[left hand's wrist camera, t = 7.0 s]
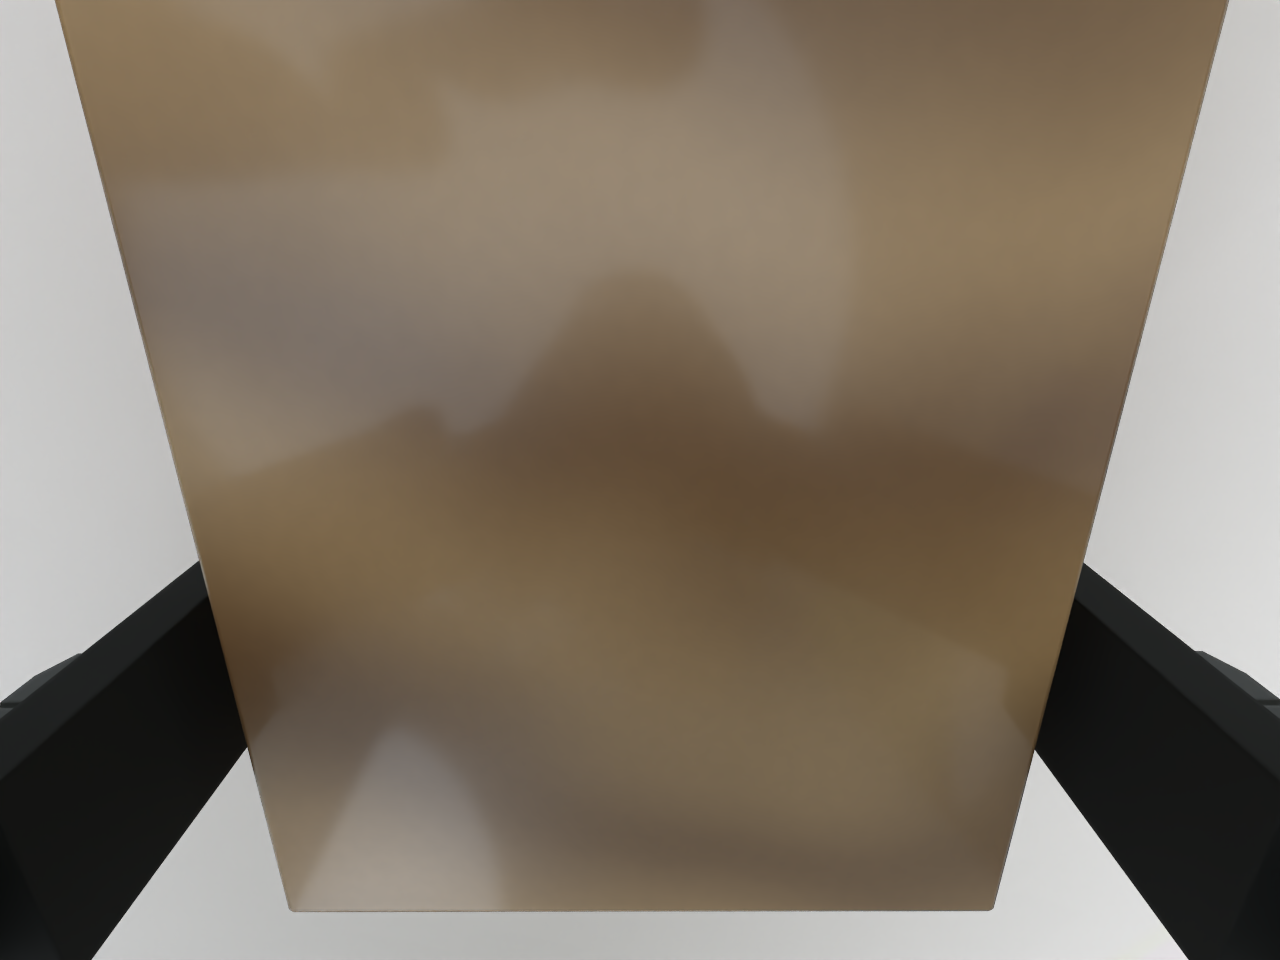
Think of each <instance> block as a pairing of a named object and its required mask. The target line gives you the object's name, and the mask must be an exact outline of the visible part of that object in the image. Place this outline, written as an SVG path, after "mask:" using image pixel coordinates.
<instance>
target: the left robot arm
mask: <svg viewBox="0 0 1280 960" xmlns="http://www.w3.org/2000/svg"><path fill="white" fill-rule="evenodd" d="M246 748H247V744H246V740H245V736H244V732H243V728H242V724H241V720H240V716H239V713H238V709H237V705H236V701H235V697H234V693H233V689H232V685H231V682H230V678H229V674H228V670H227V666H226V662H225V658H224V654H223V650H222V647H221V643H220V639H219V635H218V631H217V627H216V623H215V619H214V616H213V612H212V608H211V604H210V600H209V596H208V592H207V588H206V585H205V581H204V577H203V573H202V569H201V565H200V561H198V562H197V563H195V564H194V565H193V566H192V567H190V568H189V569H188V570H187V571H185V572H184V573H183V574H182V575H180V576H179V577H178V578H177V579H175V580H174V581H173V582H172V583H170V584H169V585H168V586H166V587H165V588H164V589H163V590H161V591H160V592H159V593H158V594H156V595H155V596H154V597H153V598H151V599H150V600H149V601H148V602H146V603H145V604H144V605H143V606H141V607H140V608H139V609H138V610H136V611H135V612H134V613H132V614H131V615H130V616H129V617H127V618H126V619H125V620H124V621H122V622H121V623H120V624H119V625H117V626H116V627H115V628H114V629H112V630H111V631H110V632H109V633H107V634H106V635H105V636H104V637H102V638H101V639H100V640H99V641H97V642H96V643H95V644H93V645H92V646H91V647H90V648H88V649H87V650H86V651H85V652H83V653H82V654H77V655H75V656H73V657H71V658H69V659H67V660H65V661H63V662H61V663H59V664H57V665H55V666H53V667H51V668H49V669H48V670H46V671H44V672H42V673H40V674H38V675H36V676H34V677H33V678H32V679H30V680H29V681H28V682H26V683H25V684H24V685H22V686H21V687H20V688H19V689H17V690H16V691H15V692H13V693H12V694H11V695H9V696H8V697H7V698H6V699H4V700H3V701H2V702H0V960H92V958H93V957H94V955H95V954H96V953H97V951H98V950H99V949H100V947H101V946H102V945H103V943H104V942H105V940H106V939H107V938H108V936H109V935H110V934H111V932H112V931H113V930H114V928H115V927H116V925H117V924H118V923H119V921H120V920H121V919H122V917H123V916H124V914H125V913H126V912H127V910H128V909H129V908H130V906H131V905H132V904H133V902H134V901H135V899H136V898H137V897H138V895H139V894H140V893H141V891H142V890H143V889H144V887H145V886H146V884H147V883H148V882H149V880H150V879H151V878H152V876H153V875H154V873H155V872H156V871H157V869H158V868H159V867H160V865H161V864H162V863H163V861H164V860H165V858H166V857H167V856H168V854H169V853H170V852H171V850H172V849H173V848H174V846H175V845H176V843H177V842H178V841H179V839H180V838H181V837H182V835H183V834H184V833H185V831H186V830H187V828H188V827H189V826H190V824H191V823H192V822H193V820H194V819H195V817H196V816H197V815H198V813H199V812H200V811H201V809H202V808H203V807H204V805H205V804H206V802H207V801H208V800H209V798H210V797H211V796H212V794H213V793H214V792H215V790H216V789H217V787H218V786H219V785H220V783H221V782H222V781H223V779H224V778H225V777H226V775H227V774H228V772H229V771H230V770H231V768H232V767H233V766H234V764H235V763H236V761H237V760H238V759H239V757H240V756H241V755H242V753H243V752H244V751H245V749H246ZM1035 751H1036V752H1037V753H1038V755H1039V756H1040V757H1041V759H1042V760H1043V762H1044V763H1045V764H1046V766H1047V767H1048V768H1049V770H1050V771H1051V772H1052V774H1053V775H1054V777H1055V778H1056V779H1057V781H1058V782H1059V783H1060V785H1061V786H1062V787H1063V789H1064V790H1065V792H1066V793H1067V794H1068V796H1069V797H1070V798H1071V800H1072V801H1073V802H1074V804H1075V805H1076V807H1077V808H1078V809H1079V811H1080V812H1081V813H1082V815H1083V816H1084V818H1085V819H1086V820H1087V822H1088V823H1089V824H1090V826H1091V827H1092V828H1093V830H1094V831H1095V833H1096V834H1097V835H1098V837H1099V838H1100V839H1101V841H1102V842H1103V843H1104V845H1105V846H1106V848H1107V849H1108V850H1109V852H1110V853H1111V854H1112V856H1113V857H1114V859H1115V860H1116V861H1117V863H1118V864H1119V865H1120V867H1121V868H1122V869H1123V871H1124V872H1125V874H1126V875H1127V876H1128V878H1129V879H1130V880H1131V882H1132V883H1133V884H1134V886H1135V887H1136V889H1137V890H1138V891H1139V893H1140V894H1141V895H1142V897H1143V898H1144V899H1145V901H1146V902H1147V904H1148V905H1149V906H1150V908H1151V909H1152V910H1153V912H1154V913H1155V915H1156V916H1157V917H1158V919H1159V920H1160V921H1161V923H1162V924H1163V925H1164V927H1165V928H1166V930H1167V931H1168V932H1169V934H1170V935H1171V936H1172V938H1173V939H1174V940H1175V942H1176V943H1177V945H1178V946H1179V947H1180V949H1181V950H1182V951H1183V953H1184V954H1185V955H1186V957H1187V958H1188V960H1280V699H1279V698H1278V697H1276V696H1275V695H1274V694H1272V693H1271V692H1270V691H1268V690H1267V689H1266V688H1264V687H1263V686H1262V685H1261V684H1259V683H1258V682H1257V681H1255V680H1254V679H1253V678H1251V677H1250V676H1249V675H1247V674H1246V673H1244V672H1242V671H1240V670H1238V669H1236V668H1234V667H1232V666H1230V665H1228V664H1227V663H1225V662H1223V661H1221V660H1219V659H1217V658H1215V657H1213V656H1211V655H1209V654H1207V653H1205V652H1203V651H1194V650H1193V649H1192V648H1190V647H1189V646H1188V645H1187V644H1185V643H1184V642H1183V641H1181V640H1180V639H1179V638H1178V637H1176V636H1175V635H1174V634H1173V633H1171V632H1170V631H1169V630H1168V629H1166V628H1165V627H1164V626H1163V625H1161V624H1160V623H1159V622H1158V621H1156V620H1155V619H1154V618H1153V617H1151V616H1150V615H1149V614H1147V613H1146V612H1145V611H1144V610H1142V609H1141V608H1140V607H1139V606H1137V605H1136V604H1135V603H1134V602H1132V601H1131V600H1130V599H1129V598H1127V597H1126V596H1125V595H1124V594H1122V593H1121V592H1120V591H1119V590H1117V589H1116V588H1115V587H1113V586H1112V585H1111V584H1110V583H1108V582H1107V581H1106V580H1105V579H1103V578H1102V577H1101V576H1100V575H1098V574H1097V573H1096V572H1095V571H1093V570H1092V569H1091V568H1090V567H1088V566H1087V565H1086V564H1085V563H1083V565H1082V569H1081V573H1080V577H1079V580H1078V584H1077V588H1076V592H1075V596H1074V600H1073V604H1072V607H1071V611H1070V615H1069V619H1068V623H1067V627H1066V631H1065V634H1064V638H1063V642H1062V646H1061V650H1060V654H1059V658H1058V661H1057V665H1056V669H1055V673H1054V677H1053V681H1052V684H1051V688H1050V692H1049V696H1048V700H1047V704H1046V708H1045V711H1044V715H1043V719H1042V723H1041V727H1040V731H1039V735H1038V738H1037V742H1036V746H1035Z"/></svg>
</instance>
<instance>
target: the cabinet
mask: <svg viewBox="0 0 1280 960" xmlns="http://www.w3.org/2000/svg"><path fill="white" fill-rule="evenodd" d="M1228 2H1229V0H55V3H56V7H57V11H58V14H59V18H60V22H61V26H62V30H63V34H64V38H65V42H66V45H67V49H68V53H69V57H70V61H71V65H72V69H73V73H74V76H75V80H76V84H77V88H78V92H79V96H80V100H81V104H82V108H83V111H84V115H85V119H86V123H87V127H88V131H89V135H90V139H91V142H92V146H93V150H94V154H95V158H96V162H97V166H98V170H99V173H100V177H101V181H102V185H103V189H104V193H105V197H106V201H107V204H108V208H109V212H110V216H111V220H112V224H113V228H114V232H115V236H116V239H117V243H118V247H119V251H120V255H121V259H122V263H123V267H124V270H125V274H126V278H127V282H128V286H129V290H130V294H131V298H132V301H133V305H134V309H135V313H136V317H137V321H138V325H139V329H140V332H141V336H142V340H143V344H144V348H145V352H146V356H147V360H148V363H149V367H150V371H151V375H152V379H153V383H154V387H155V391H156V395H157V398H158V402H159V406H160V410H161V414H162V418H163V422H164V426H165V429H166V433H167V437H168V441H169V445H170V449H171V453H172V457H173V460H174V464H175V468H176V472H177V476H178V480H179V484H180V488H181V491H182V495H183V499H184V503H185V507H186V511H187V515H188V519H189V523H190V526H191V530H192V534H193V538H194V542H195V546H196V550H197V554H198V557H199V561H200V565H201V569H202V573H203V577H204V581H205V585H206V588H207V592H208V596H209V600H210V604H211V608H212V612H213V616H214V619H215V623H216V627H217V631H218V635H219V639H220V643H221V647H222V650H223V654H224V658H225V662H226V666H227V670H228V674H229V678H230V682H231V685H232V689H233V693H234V697H235V701H236V705H237V709H238V713H239V716H240V720H241V724H242V728H243V732H244V736H245V740H246V744H247V747H248V751H249V755H250V759H251V763H252V767H253V771H254V775H255V778H256V782H257V786H258V790H259V794H260V798H261V802H262V806H263V810H264V813H265V817H266V821H267V825H268V829H269V833H270V837H271V841H272V844H273V848H274V852H275V856H276V860H277V864H278V868H279V872H280V875H281V879H282V883H283V887H284V891H285V895H286V899H287V903H288V906H289V909H290V910H291V911H293V912H615V911H990V910H992V909H993V908H994V904H995V900H996V896H997V893H998V889H999V885H1000V881H1001V877H1002V873H1003V869H1004V866H1005V862H1006V858H1007V854H1008V850H1009V846H1010V842H1011V839H1012V835H1013V831H1014V827H1015V823H1016V819H1017V816H1018V812H1019V808H1020V804H1021V800H1022V796H1023V792H1024V789H1025V785H1026V781H1027V777H1028V773H1029V769H1030V765H1031V762H1032V758H1033V754H1034V750H1035V746H1036V742H1037V738H1038V735H1039V731H1040V727H1041V723H1042V719H1043V715H1044V711H1045V708H1046V704H1047V700H1048V696H1049V692H1050V688H1051V684H1052V681H1053V677H1054V673H1055V669H1056V665H1057V661H1058V658H1059V654H1060V650H1061V646H1062V642H1063V638H1064V634H1065V631H1066V627H1067V623H1068V619H1069V615H1070V611H1071V607H1072V604H1073V600H1074V596H1075V592H1076V588H1077V584H1078V580H1079V577H1080V573H1081V569H1082V565H1083V561H1084V557H1085V553H1086V550H1087V546H1088V542H1089V538H1090V534H1091V530H1092V526H1093V523H1094V519H1095V515H1096V511H1097V507H1098V503H1099V500H1100V496H1101V492H1102V488H1103V484H1104V480H1105V476H1106V473H1107V469H1108V465H1109V461H1110V457H1111V453H1112V449H1113V446H1114V442H1115V438H1116V434H1117V430H1118V426H1119V422H1120V419H1121V415H1122V411H1123V407H1124V403H1125V399H1126V395H1127V392H1128V388H1129V384H1130V380H1131V376H1132V372H1133V368H1134V365H1135V361H1136V357H1137V353H1138V349H1139V345H1140V342H1141V338H1142V334H1143V330H1144V326H1145V322H1146V318H1147V315H1148V311H1149V307H1150V303H1151V299H1152V295H1153V291H1154V288H1155V284H1156V280H1157V276H1158V272H1159V268H1160V264H1161V261H1162V257H1163V253H1164V249H1165V245H1166V241H1167V237H1168V234H1169V230H1170V226H1171V222H1172V218H1173V214H1174V210H1175V207H1176V203H1177V199H1178V195H1179V191H1180V187H1181V183H1182V180H1183V176H1184V172H1185V168H1186V164H1187V160H1188V157H1189V153H1190V149H1191V145H1192V141H1193V137H1194V133H1195V130H1196V126H1197V122H1198V118H1199V114H1200V110H1201V106H1202V103H1203V99H1204V95H1205V91H1206V87H1207V83H1208V79H1209V76H1210V72H1211V68H1212V64H1213V60H1214V56H1215V52H1216V49H1217V45H1218V41H1219V37H1220V33H1221V29H1222V25H1223V22H1224V18H1225V14H1226V10H1227V6H1228Z"/></svg>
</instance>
